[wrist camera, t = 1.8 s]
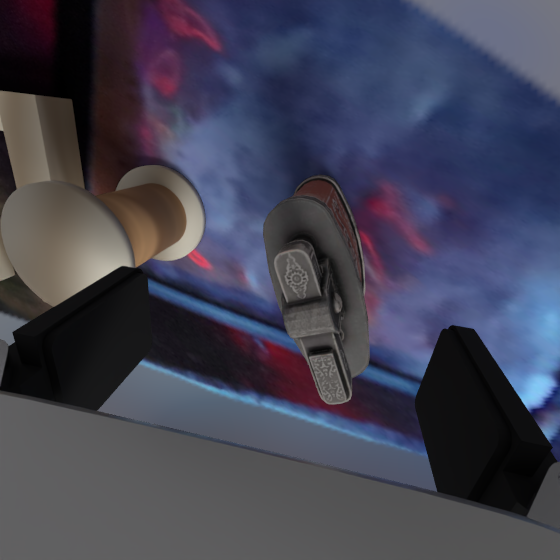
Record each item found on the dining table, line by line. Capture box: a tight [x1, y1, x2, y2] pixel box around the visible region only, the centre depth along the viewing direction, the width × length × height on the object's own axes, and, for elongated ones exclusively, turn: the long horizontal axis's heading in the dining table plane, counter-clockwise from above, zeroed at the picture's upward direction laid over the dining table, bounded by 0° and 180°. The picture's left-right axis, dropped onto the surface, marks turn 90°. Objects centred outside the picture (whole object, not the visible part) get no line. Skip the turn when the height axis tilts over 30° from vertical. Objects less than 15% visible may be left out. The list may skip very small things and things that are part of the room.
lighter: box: [263, 175, 369, 404], centre depth 15 cm, size 8×3×10 cm, turn 19°
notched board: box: [0, 91, 85, 302], centre depth 22 cm, size 10×13×2 cm
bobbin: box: [1, 165, 206, 307], centre depth 18 cm, size 6×6×8 cm
